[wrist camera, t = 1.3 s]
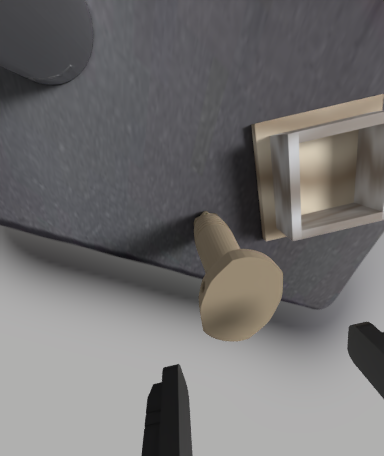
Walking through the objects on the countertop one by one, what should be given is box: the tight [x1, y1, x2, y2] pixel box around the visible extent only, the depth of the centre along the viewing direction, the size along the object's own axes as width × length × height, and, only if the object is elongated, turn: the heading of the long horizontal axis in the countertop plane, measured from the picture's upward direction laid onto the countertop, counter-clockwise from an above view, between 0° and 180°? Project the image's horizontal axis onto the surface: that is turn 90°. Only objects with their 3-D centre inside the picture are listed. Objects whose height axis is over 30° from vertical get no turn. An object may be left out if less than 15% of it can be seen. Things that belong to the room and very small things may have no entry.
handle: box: [194, 211, 283, 341], centre depth 20 cm, size 5×6×15 cm
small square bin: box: [251, 94, 384, 241], centre depth 24 cm, size 14×14×5 cm
